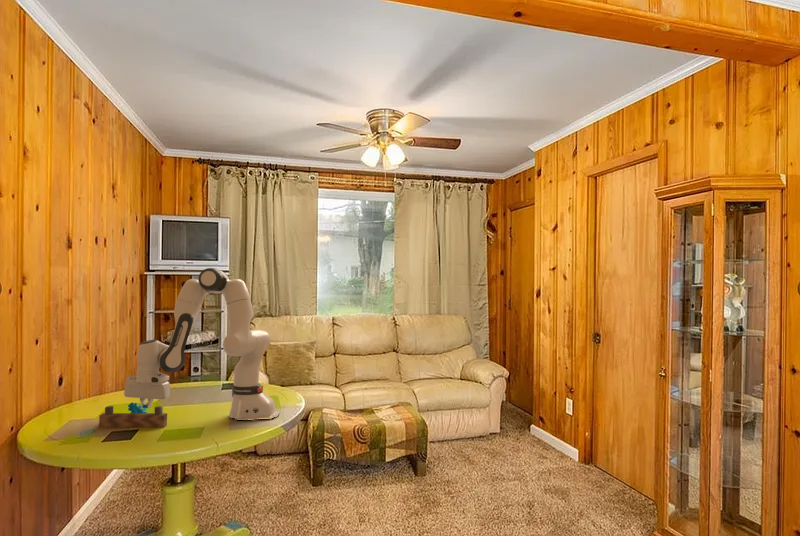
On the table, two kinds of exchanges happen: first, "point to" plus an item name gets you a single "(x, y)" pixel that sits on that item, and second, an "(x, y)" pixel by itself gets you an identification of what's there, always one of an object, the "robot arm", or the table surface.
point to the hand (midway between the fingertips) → (146, 408)
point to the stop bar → (133, 418)
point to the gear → (136, 408)
